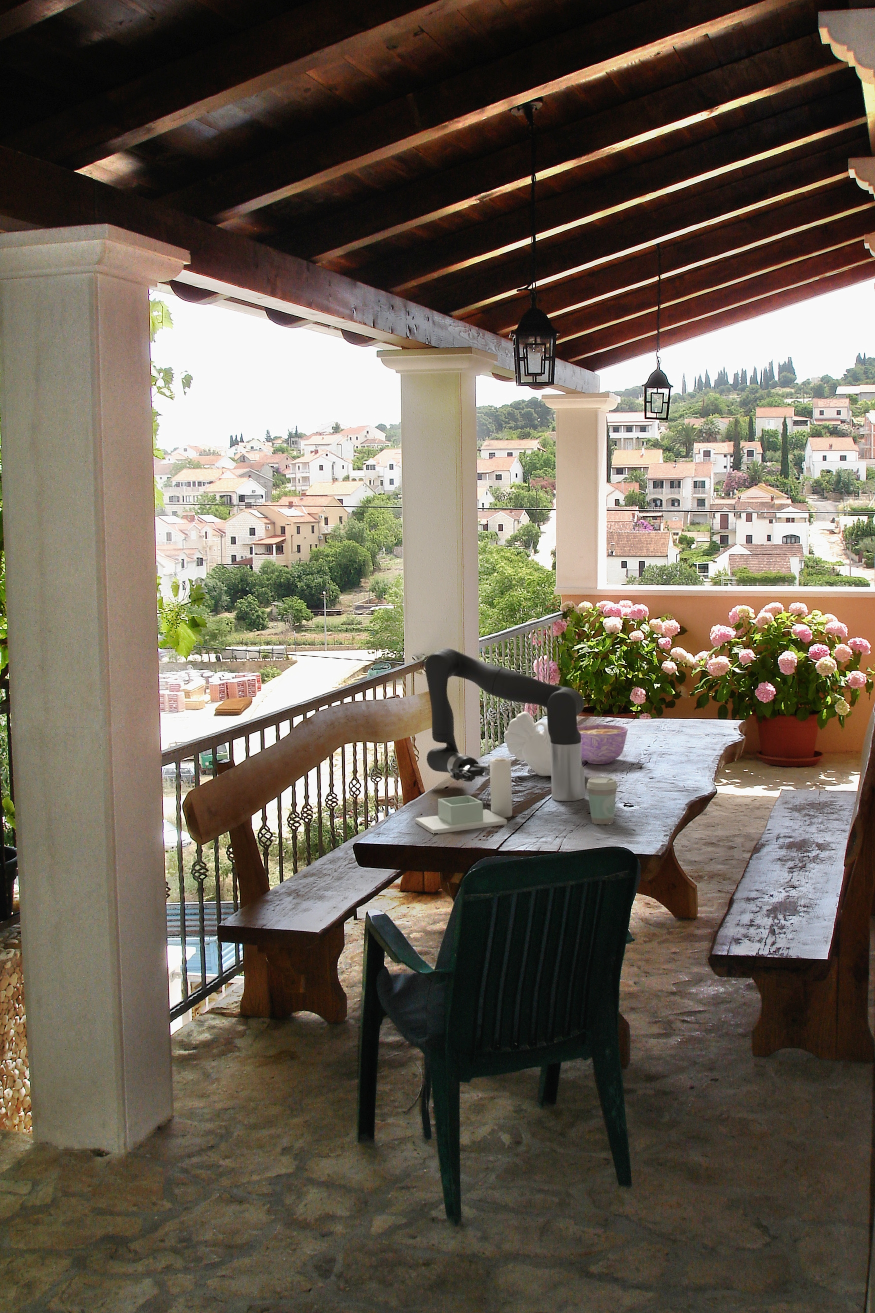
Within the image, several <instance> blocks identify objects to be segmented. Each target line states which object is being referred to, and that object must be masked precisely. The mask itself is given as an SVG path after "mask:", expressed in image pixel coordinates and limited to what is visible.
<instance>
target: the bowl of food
mask: <svg viewBox="0 0 875 1313" xmlns="http://www.w3.org/2000/svg"><path fill="white" fill-rule="evenodd" d="M577 729H578V731H579V732H580V734H581V759H583V760H584V761H587V763H589V764H593V765H604V764H605V765H606V764H610V763H612V761H615V760H616V759H618V758H620V756H621V755H622V753H623V750H624V748H625V744H626V740H627V739H626V738H627V736H628V735H627V734H628V730H629V729H628V728H627V727H626V726H624V725H623V726H622V725H616V724H584V725H583V724H582V725H577Z"/></svg>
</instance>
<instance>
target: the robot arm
mask: <svg viewBox="0 0 875 1313" xmlns="http://www.w3.org/2000/svg"><path fill="white" fill-rule="evenodd" d="M424 670H425V671H424V672H425V677H426V683H427V688H428V695H429V700H430V707H431V736H432V740H433V741H434V742H436V743H441V744H446V745H445V746H444V747H443V746H442V747H435V748H432V749H430V750H428V752H427V755H426V763H427V765H428V768H430V769H431V770H433V771H435V772H440V773H448V774H450V778H452V779H453V780H454V781H457V782H458V781H460V780H461V781H463V782H466V783H467V782H468V783H471V782H473V781H475V780H476V779H478V778H489V777H490V763H489V764H487V765H482V764H480V763H479V762H478V760H476V759H475V758H473V757H472V756H469V755H466V754H464V753H460V752H459V749H458V747H457V746H458V745H457V743H456V738H455V721H454V712H453V709H452V705H451V703H450V701H449V697H448V696H449V695H448V683H449V678H451V677H457V678H462V679H464V680H468V681H470V682H472V683H474V684H475V685H477V686H478V687H479V688H480V689H481V690H483V691H484V692H485V693H487V694H489V695H490V696H493V697H496V698H499V699H502V700H504V701H505V700H506V701H510V702H514V703H521V704H529V705H530V704H531V705H537V706H540V707H544V708H545V707H546V708H547V714H546V719H547V720H546V721H547V722H546V724H547V723H548V733H549V735H550V744H551V776H550V777H551V778H550V779H551V780H550V781H551V782H550V784H551V788H550V789H551V799H552V800H554V801H558V802H574V801H579V800H582V799H585V798H586V785H585V784H586V783H585V782H586V781H585V780H586V779H585V777H586V775H585V767H584V766H582V765H583V764H582V758H581V734H580V732H579V731H578V729H577V726H578V719H577V717H578V716H579V715H580V714H581V713H582V711H583V710H584V707H585V700H584V698H583V696H582V694H581V693H580V692H578V691H577V690H576V689H574V688H571V687H567V686H561V685H557V684H550V683H547V682H544V681H541V680H539V679H536V678H533V677H531V676H529V675H526V674H523V673H520V672H517V671H515V670H511V669H508V668H505V667H502V666H498V665H495V664H492V663H489V662H485V661H482V660H479V659H475V658H473V657H471V656H469V655H467V654H464V653H462V652H459V651H457V650H455V649H452V648H448V647H445V648H441V649H438V650H436V651H434V652H433V653H431V654H429V656H427V658H426V659H425V662H424Z"/></svg>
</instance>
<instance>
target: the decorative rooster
mask: <svg viewBox="0 0 875 1313" xmlns="http://www.w3.org/2000/svg"><path fill="white" fill-rule="evenodd" d="M544 712H545V714H546V715H547V708H546V707H544ZM577 720H579V716H577ZM539 726H542V727H543V730H542V731H541V730H539V729H538V728H539ZM506 729H507V730H506V731H505V733H504V735H503V738H504V739H505V740H504V743H505V744H506V747H507V751H508V753H509V754H511V755H513V756H514V757H515V758H516V759H517V760H518V761H525V763H526V764H527V765H528V766H529V767H530V768H531V770H532V771H534V772H535V773H536V775H538V776H540V777H551V744H550V735H549V733H548V723H547V722H545V721H542V720H539V721H537V722H535V721H534V719H533V717H532V716H531V714H530V713H529V712H528V711H522V712H521V713H518V714H517V715H516V717H515V718H513V719H511V720H510V721H509V723H508V726H507V727H506Z"/></svg>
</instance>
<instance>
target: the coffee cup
mask: <svg viewBox="0 0 875 1313" xmlns="http://www.w3.org/2000/svg"><path fill="white" fill-rule="evenodd" d="M585 788H587V794H588V802H589V804H588V805H589V811H590V817H591V818H590V819H591V823H592V824H593V823H594V824H593V825H597V824H609V823H612V822H613V823H614V818H615V808H616V795H617V788H618V783H617V781H616V779H615V778H613V777H607V776H596V777H595V776H594V777H591V778H588V780H587V783H586V785H585ZM613 823H612V824H613ZM609 825H610V824H609Z"/></svg>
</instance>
